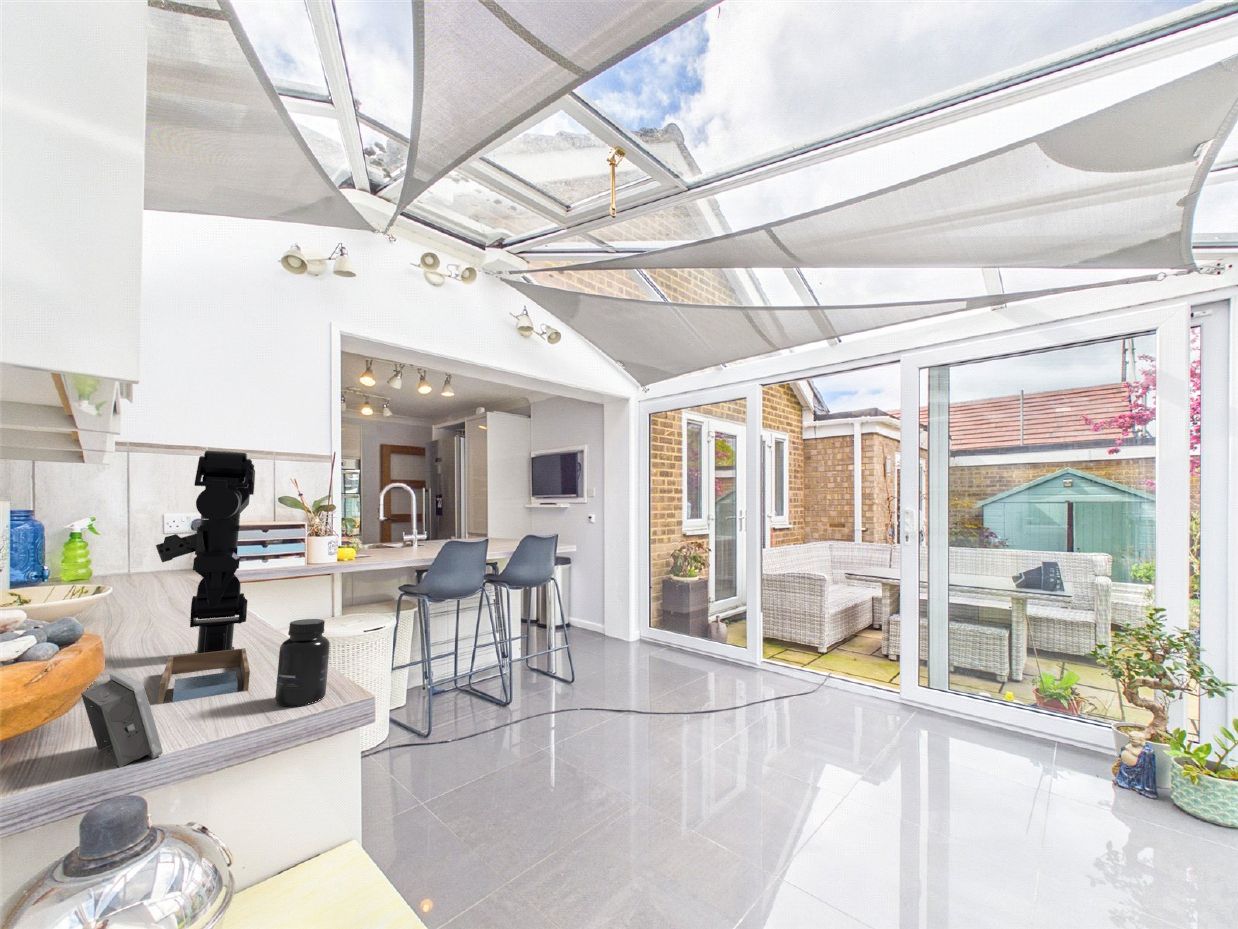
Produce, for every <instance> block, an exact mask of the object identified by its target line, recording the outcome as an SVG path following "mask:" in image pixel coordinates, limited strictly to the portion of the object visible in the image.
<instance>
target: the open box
mask: <svg viewBox="0 0 1238 929" xmlns="http://www.w3.org/2000/svg"><path fill="white" fill-rule="evenodd" d="M246 649H247V648H245V647H242V648H237V649H236V648H234V650H225V651H216V652H207V653H198V654H194V653H191V654H180V655H174V656H168V659H167V663H166V666H165V668H164V670H163V674H162V676H161V679H160V682H159V691H158V699H157V700H158V701H157V705H160V704H164V703H165V698H166V695H167V691H168V689H169V684H170V681H171V677H172V676H173V675H177V674H185V673H190V672H191V673H193V672H200V671H207V670H215V669H217V670H218V669H223V668H232V667H239V665H240V673H241V681H242V688H243V691H244V692H246V691H249V687H250V686H249V685H250V677H251V676H250V675H251V673H250V672H251V670H250V664H249V660H248V656H247V650H246Z"/></svg>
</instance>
